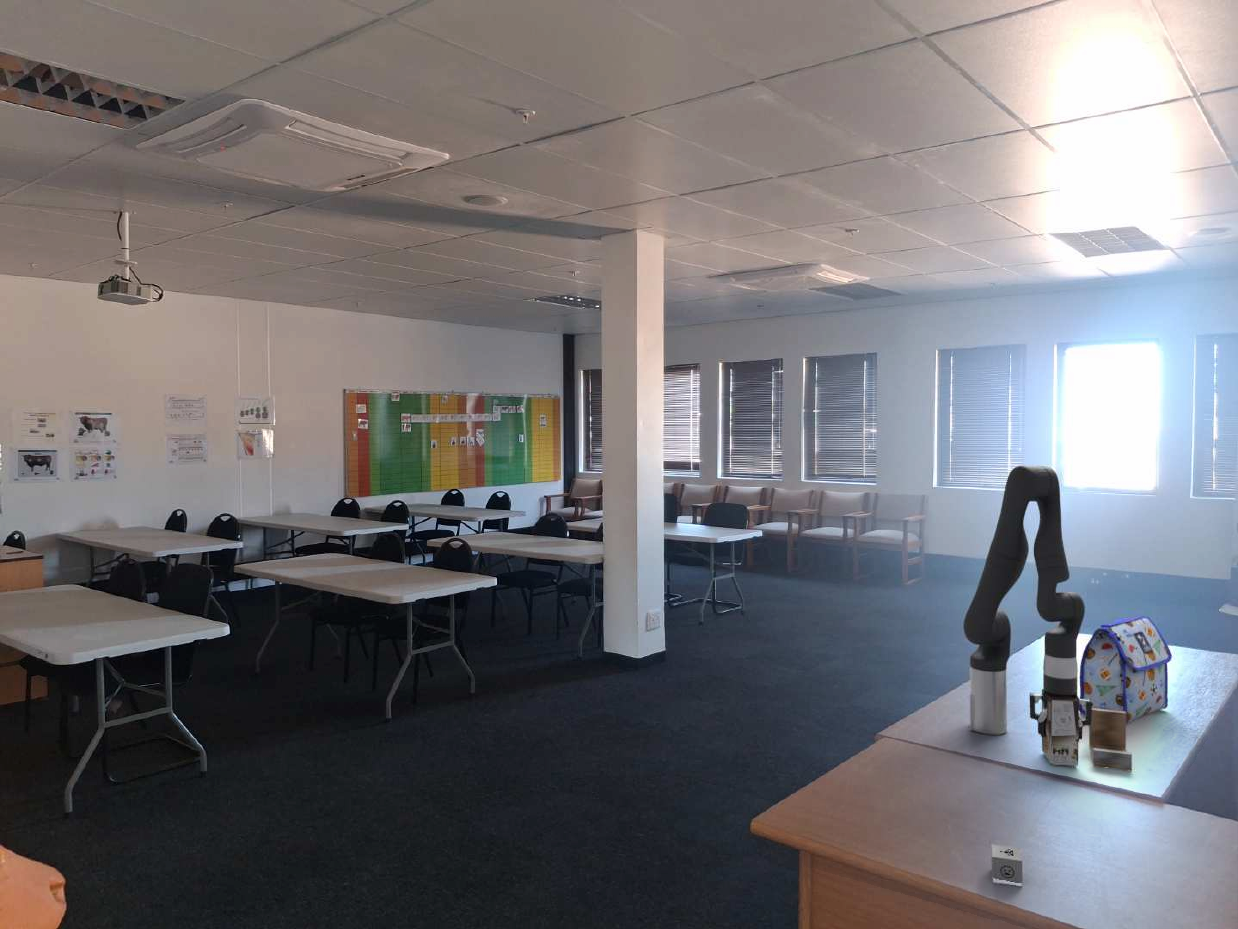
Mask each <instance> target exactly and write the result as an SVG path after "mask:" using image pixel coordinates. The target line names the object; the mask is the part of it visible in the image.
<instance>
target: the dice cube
mask: <svg viewBox="0 0 1238 929" xmlns="http://www.w3.org/2000/svg"><path fill="white" fill-rule="evenodd" d="M990 851H991V852H990V854H991V878H992V877H993V878H995V879H999V880H1006V881H1010V882H1015V883H1022V884H1023V858H1022V850H1021V848H1020V847H1015V846H1009V845H1007V846H1006V845H1001V844H1000V845H999V844H994V843H991V848H990Z"/></svg>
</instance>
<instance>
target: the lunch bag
mask: <svg viewBox="0 0 1238 929" xmlns="http://www.w3.org/2000/svg"><path fill="white" fill-rule="evenodd" d="M1172 658H1173V655H1172V653H1171V649H1170V647H1169V645H1168V644H1167V642H1166V640H1165V639H1164V637H1163V635H1162V634H1161V632H1160V631H1159V629H1158V627H1157V626H1156V625H1155V623H1154V621H1153V620H1152V619H1151V618H1150V617H1149V616H1146V615H1140V616H1139V615H1138V616H1135V617H1126V618H1121V619H1117V620H1115V621H1114V622H1112V623H1110V624H1101V625H1100V627H1099V628H1097V629H1096V630H1094V631H1093V634H1092V636H1091V637H1090V638H1089V641H1088V642H1087V643H1086V645H1085V648H1084V650H1083V653H1082V656H1081V660H1080V666H1079V691H1080V692H1079V699H1085V700H1086V699H1090V700H1091V702H1092V708H1096V709H1106V710H1116V711H1125V713H1126V724H1127V723H1130V722H1132V721H1134V720H1136V719H1139V718H1142V717H1144V716H1146V715H1148V714H1152V713H1154V712H1157V711H1160V710H1166V709H1167V707H1168V706H1169V705H1168V702H1169V700H1168V694H1169V692H1168V688H1169V687H1168V685H1169V682H1168V681H1169V678H1168V677H1169V676H1168V675H1169V672H1168V663H1169V662H1171V660H1172ZM1079 713H1081V714H1083V715H1085V709H1084V708H1083V707H1082V705H1081V704H1079Z"/></svg>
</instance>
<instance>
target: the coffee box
mask: <svg viewBox="0 0 1238 929" xmlns="http://www.w3.org/2000/svg"><path fill="white" fill-rule="evenodd" d="M1042 693H1043V688H1042V689H1041V694H1042ZM1043 708H1044V709H1045V710H1046V708H1047V717H1046V718H1045V720H1044V737H1041V751H1042V753H1043V754H1044V755H1045V757H1046V759H1047V760H1048V761H1049V763H1050V764H1051V765H1058V766H1059V765H1061V766H1075V767H1078V766H1079V742H1078V735H1079V717H1080V712H1079V700H1077V699H1076V698H1074V697H1067V696H1051V695H1047V704H1046V705H1045V704H1044V702H1043V701H1042V700H1041V711H1042V710H1043Z"/></svg>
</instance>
